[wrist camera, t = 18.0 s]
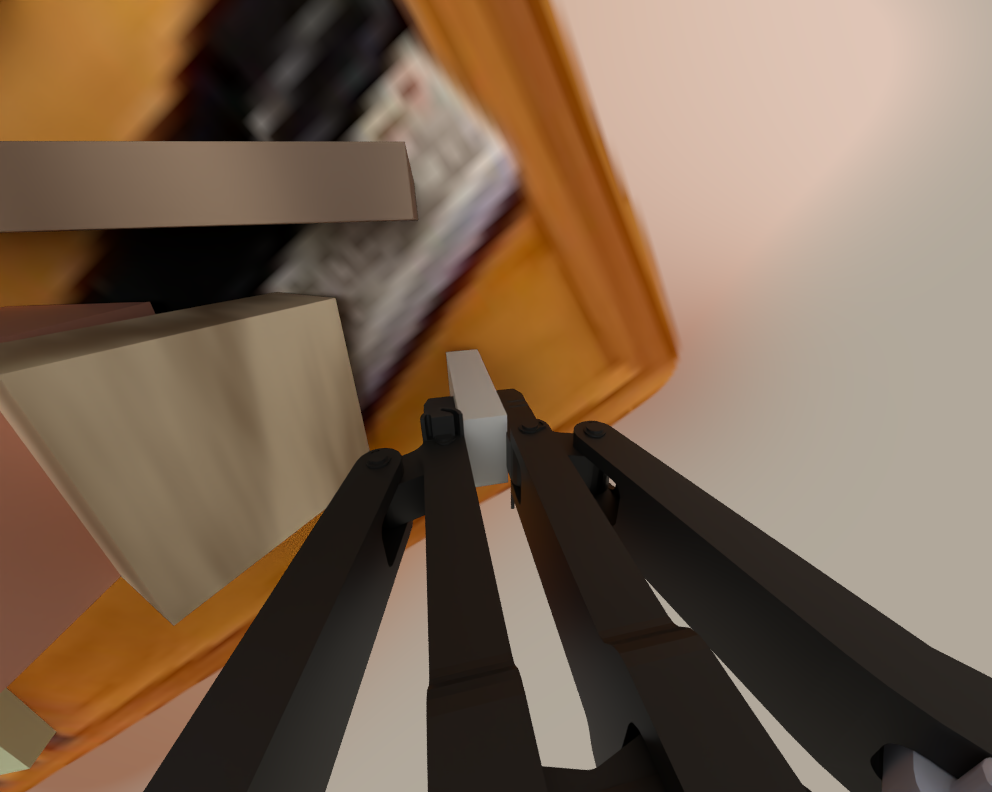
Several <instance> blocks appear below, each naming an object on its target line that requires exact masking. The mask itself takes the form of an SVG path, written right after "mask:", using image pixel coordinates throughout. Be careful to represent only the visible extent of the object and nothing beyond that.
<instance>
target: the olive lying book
mask: <svg viewBox="0 0 992 792" xmlns="http://www.w3.org/2000/svg"><path fill="white" fill-rule="evenodd" d="M55 733H56V731H55V730H54V729H53V728H51V727H50V726H49V725H48V724H47V723H46V722H45V721H44V720H42V719H41V718H40V717H39V716H38V715H37V714H36V713H34V712H33V711H32V710H31V709H30V708H29V707H28V706H26V705H25V704H24V703H23V702H22V701H21V700H20V699H18V698H17V697H16V696H15V695H14V694H13V693H12V692H10V691H9V690H8V689H7V688H5V689H4V690H3V691H2V692H1V693H0V775H1V774H6V773H11V772H16V771H20V770H25V769H30V768H31V766H32V765H33V763H34V762H35V761H36V759H37V758H38V756H39V755H40V754H41V752H42V751H43V749H44V748H45V747H46V745H47V744H48V743H49V741H50V740H51V738H52V737H53V736H54V734H55Z"/></svg>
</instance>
